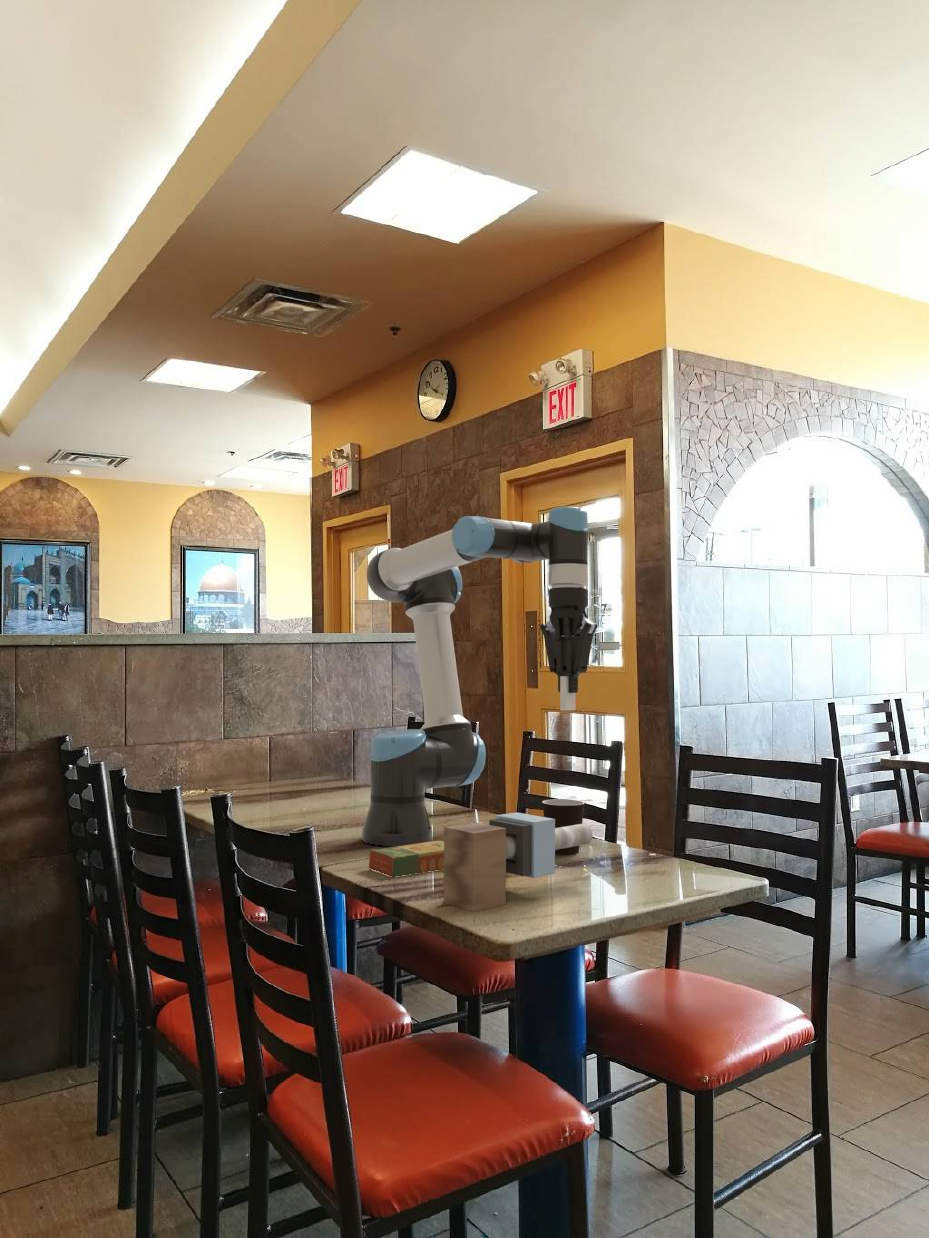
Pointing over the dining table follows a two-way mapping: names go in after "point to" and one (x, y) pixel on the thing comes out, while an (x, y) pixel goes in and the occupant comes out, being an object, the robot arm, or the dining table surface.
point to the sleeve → (538, 842)
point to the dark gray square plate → (518, 846)
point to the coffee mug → (564, 817)
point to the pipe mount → (488, 861)
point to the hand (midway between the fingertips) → (567, 710)
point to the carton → (408, 858)
